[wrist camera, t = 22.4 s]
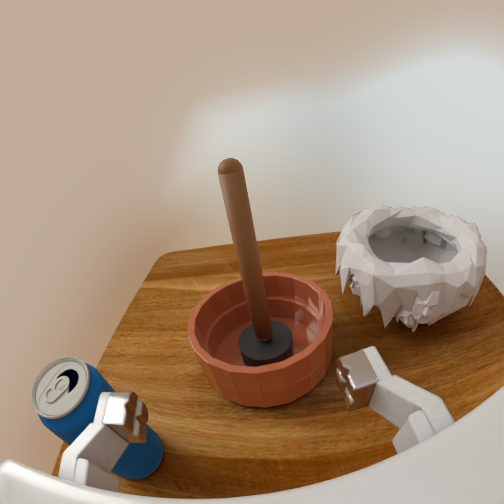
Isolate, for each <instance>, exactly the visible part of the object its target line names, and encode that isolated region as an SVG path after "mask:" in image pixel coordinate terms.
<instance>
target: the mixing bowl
mask: <svg viewBox="0 0 504 504" xmlns="http://www.w3.org/2000/svg"><path fill="white" fill-rule="evenodd" d="M262 275H263V280H264V286H265V291H266V297H267V302H268V308H269V314H270V319H271V320H274V321H278V322H281V323H283V324H285V325H286V326H287V327H288V328H289V329H290V330H291V332H292V337H293V347H294V355H293V356H292V357H290V358H288V359H286V360H284V361H281V362H277V363H272V364H268V365H263V366H258V367H251V366H246V365H245V364H244V362H243V359H242V356H241V353H240V349H239V346H238V339H239V336H240V334H241V333H242V331H243V330H244V329H245V328H247V327H248V326H250V325H251V324H252V321H251V317H250V312H249V308H248V304H247V300H246V295H245V291H244V287H243V283H242V278H241V277H239V278H236V279H234V280H231V281H229V282H226V283H224V284H222V285H220V286H219V287H217V288H216V289H214V290H213V291H211V292H209V293H208V294H207V295H206V296H205V297H204V298H203V299H202V300H201V301H200V302H199V303H198V304H197V305H196V307H195V309H194V311H193V313H192V314H191V316H190V318H189V325H188V337H189V340H190V343H191V345H192V348H193V350H194V352H195V354H196V356H197V358H198V360H199V362H200V364H201V366H202V368H203V370H204V372H205V374H206V376H207V378H208V380H209V382H210V384H211V385H212V386H213V387H214V388H215V389H216V390H217V391H218V392H219V393H220V394H221V395H222V396H223V397H225V398H226V399H229V400H231V401H233V402H236V403H238V404H241V405H243V406H252V407H265V408H266V407H272V406H277V405H282V404H286V403H290V402H292V401H294V400H296V399H298V398H299V397H301V396H303V395H305V394H307V393H308V392H310V391H311V390H312V389H313V388H314V387H315V386H316V385H317V384H318V383H319V382H320V381H321V380H322V379H323V377H324V376H325V374H326V371H327V369H328V367H329V364H330V362H331V356H332V336H333V309H332V303H331V301H330V299H329V298H328V296H327V294H326V292H325V291H324V290H323V289H322V288H320V287H319V286H318V285H316V284H315V283H314V282H313V281H311V280H308V279H306V278H303V277H301V276H298V275H294V274H288V273H281V272H267V273H262Z"/></svg>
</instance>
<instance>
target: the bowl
mask: <svg viewBox="0 0 504 504" xmlns="http://www.w3.org/2000/svg"><path fill="white" fill-rule="evenodd" d="M336 244H337V255H336V275H338V274H339V272H340V277H341V285H342V294H343V293H344V290H345V288H346V285H347V283H348V281H349V280H350V281H351V282H352V284H351V285H350V288H351V290H352V293H353V295H356V296H360V308H361V307H362V306H363V317H364V316H366V315H368V314H369V312H370V310H371V309H372V307H373V305H374V306H376V307H377V308H379V309H380V310H381V314H382V319H383V323H384V327H385V328H386V326H387V325H388V324H389V322H390V321H391V319H392V318H393V317H395V318H396V321H397V323H398V321H399V319H400V320H401V321H402V322H403V323H404V324H405V325H406V326H407V327H408V328H409V327H412V333H413V332H415V330H416V328H417V326H418V324H419V323H420V324H426V323H428V326H429V325H431V324H432V323H435V322H436V321H438V320H440V319H442V318H444V317H446V316H448V315H450V314H451V313H453V312H455V311H457V310H459V309H461V308H463V307H465V306H466V305H468V306H469V307H470V305H471V304H472V302H473V300H474V298H475V297H476V295H477V293H478V291H479V289H480V286H481V283H482V280H483V278H484V275H485V269H486V252H487V250H486V246H485V244H484V243H483V241H482V240H481V235H480V233H479V231H478V228H477V226H476V224H475V223H467V222H466V221H464V220H463V219H461V218H460V217H458V216H453V215H446V214H444V213H442V212H440V211H438V210H436V209H433V208H429V207H420V208H418V207H414V206H413V207H410V208H407V207H399V208H392V207H389V206H386V205H383V204H380V205H377V206H374V207H371V208H368V209H365V210H363V211H361V212H359V213H357V214H355V215H353V216H352V217H351V218H350V219H349V221H348V222H347V223H346V225H345V226H344V227H343V228H342V229H341V235H340V236H339V238H338V240H337V242H336Z"/></svg>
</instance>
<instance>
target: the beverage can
mask: <svg viewBox="0 0 504 504" xmlns="http://www.w3.org/2000/svg"><path fill="white" fill-rule="evenodd" d="M102 392H115V391H114V390H113V388H112V387H111V386H110V385H109V384H108V383H107V381H106V380H105V379H104V378H103V377H102V375H101V374H100V373H99V372H98V371H97V370H96V369H95V368H94V367H92V366H91V365H89V364H86V363H84V362H83V361H82V360H81V359H79V358H77V357H74V356H66V357H62V358H59V359H57V360H55V361H53V362H51V363H50V364H48V365H47V366H46V367H45V368H44V369H43V370H42V371H41V372H40V374H39V375H38V376H37V378H36V380H35V382H34V384H33V387H32V391H31V402H32V405H33V408H34V409H35V411H36V412H37V413H38V415H39V417H40V419H41V421H42V422H43V424H44V425H45V426H46V427H47V428H48V429H49V430H50V431H52V432H53V433H54V434H55V435H57V436H58V437H59V438H61V439H62V440H63V441H65V442H66V443H67V444H69V445H71V444H72V443H73V442H74V441H75V439H76V438H77V437H78V436H79V435H80V434H81V433H82V432H83V431H84V430H85V429H86V428H87V426H88V425H89V424H90V423H93V422H94V417H95V413H96V409H97V405H98V401H99V397H100V395H101V393H102ZM144 426H145V428H146V430H147V433H146V443H129V445H128V446H127V448H126V449H125V451H124V452H123V454H122V455H121V457H120V458H119V460H118V461H117V463H116V464H115V466H114V467H113V469H112V470H111V472H113V473H115V474H117V475H118V476H121V477H123V478H126V479H134V480H135V479H141V478H144V477H147V476H148V475H150V474H151V473H153V472H154V471H155V470H156V468H157V467H158V466H159V464H160V462H161V459H162V454H163V448H162V443H161V440H160V438H159V437H158V435H157V434H156V433H155V432H154V431H153V430H152V429H151V428H150V427H149V426H148V425H147V424H145V425H144Z"/></svg>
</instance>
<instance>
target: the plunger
mask: <svg viewBox="0 0 504 504" xmlns="http://www.w3.org/2000/svg"><path fill="white" fill-rule="evenodd" d="M218 175H219V180H220V185H221V189H222V194H223V199H224V203H225V207H226V212H227V217H228V221H229V226H230V230H231V235H232V239H233V243H234V248H235V252H236V257H237V261H238V265H239V270H240V274H241V278H242V283H243V287H244V291H245V295H246V300H247V304H248V308H249V312H250V317H251V321H252V324H251V325H250V326H248V327H247V328H245V329H244V330H243V331H242V333H241V334H240V336H239V339H238V346H239V349H240V353H241V356H242V359H243V362H244V364H245V365H246V366H251V367H258V366H263V365H268V364H272V363H277V362H281V361H284V360H286V359H288V358H290V357H292V356H293V355H294V347H293V337H292V332H291V330H290V329H289V328H288V327H287V326H286V325H285V324H283V323H281V322H278V321H274V320H271V319H270V314H269V308H268V302H267V297H266V291H265V286H264V280H263V275H262V269H261V264H260V258H259V253H258V247H257V242H256V236H255V231H254V225H253V220H252V214H251V209H250V204H249V199H248V193H247V188H246V182H245V177H244V171H243V167H242V165H241V163H240V162H239V161H238V160H236V159H233V158H228V159H225V160H223V161H222V162H221V163H220V165H219V167H218Z"/></svg>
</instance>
